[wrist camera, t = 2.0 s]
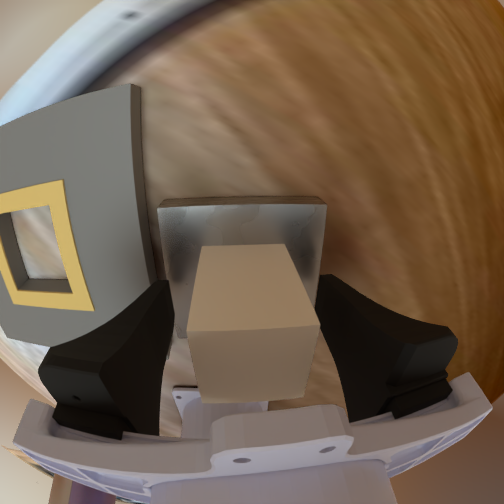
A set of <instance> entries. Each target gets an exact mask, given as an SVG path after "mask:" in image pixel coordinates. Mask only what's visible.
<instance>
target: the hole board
mask: <svg viewBox="0 0 504 504" xmlns="http://www.w3.org/2000/svg"><path fill="white" fill-rule="evenodd" d="M140 100H141V88H140V87H138V86H135V85H133V84H125V85H121V86H116V87H111V88H107V89H103V90H99V91H95V92H91V93H87V94H84V95H80V96H77V97H74V98H70V99H67V100H64V101H61V102H58V103H55V104H52V105H50V106H47V107H44V108H42V109H39V110H36V111H34V112H31V113H29V114H27V115H24V116H22V117H20V118H17V119H15V120H13V121H11V122H9V123H7V124H5V125H3V126H0V325H1V327H2V329H3V331H4V333H5V334H6V336H7V338H11V339H15V340H19V341H24V342H28V343H33V344H38V345H43V346H48V347H53V346H56V345H59V344H62V343H65V342H68V341H71V340H73V339H76V338H78V337H80V336H82V335H85V334H87V333H89V332H91V331H92V330H94V329H96V328H98V327H99V326H101V325H103V324H105V323H106V322H108V321H109V320H111V319H112V318H114V317H115V316H116V315H118V314H119V313H120V312H122V311H123V310H124V309H125V308H126V307H127V306H129V305H130V304H131V303H132V302H133V301H135V300H136V299H137V298H138V297H139V296H140V295H141V294H142V293H143V292H144V291H145V290H146V289H147V288H148V287H150V286H151V285H152V284H153V283H154V282H155V281H156V280H158V279H157V274H156V268H155V263H154V257H153V250H152V244H151V237H150V230H149V222H148V214H147V206H146V196H145V186H144V175H143V161H142V143H141V103H140ZM46 205H49V206H50V211H51V216H52V221H53V226H54V230H55V234H56V239H57V243H58V247H59V250H60V254H61V258H62V261H63V265H64V268H65V271H66V274H67V277H68V280H55V279H28V276H27V273H26V270H25V267H24V264H23V261H22V258H21V255H20V251H19V248H18V244H17V241H16V237H15V233H14V229H13V225H12V221H11V216H10V212H12V211H17V210H22V209H28V208H34V207H40V206H46ZM171 345H172V343H171V342H170V346H169V350H168V353H167V357H166V359H169V355H170V350H171Z"/></svg>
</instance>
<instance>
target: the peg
mask: <svg viewBox="0 0 504 504" xmlns="http://www.w3.org/2000/svg"><path fill="white" fill-rule="evenodd" d="M320 325H321V324H320V322H319V320H318V317H317V315H316V313H315V311H314V308H313V306H312V304H311V301H310V299H309V297H308V295H307V292H306V290H305V288H304V286H303V283H302V281H301V279H300V277H299V274H298V272H297V270H296V268H295V266H294V263H293V261H292V259H291V257H290V255H289V252H288V250H287V248H286V246H285V244H258V245H222V246H202V248H201V253H200V258H199V263H198V268H197V273H196V278H195V284H194V289H193V294H192V300H191V306H190V312H189V317H188V324H187V330H186V332H187V337H188V343H189V348H190V352H191V357H192V362H193V366H194V371H195V375H196V380H197V384H198V388H199V392H200V396H201V400H202V403H245V402H261V401H274V400H284V399H293V398H301V397H303V396H304V392H305V388H306V385H307V381H308V377H309V373H310V369H311V365H312V361H313V356H314V352H315V348H316V343H317V339H318V334H319V329H320Z"/></svg>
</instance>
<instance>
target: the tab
mask: <svg viewBox="0 0 504 504" xmlns="http://www.w3.org/2000/svg"><path fill="white" fill-rule="evenodd" d="M326 212H327V204H326V203H325V202H323V201H322V200H321V199H320V198H319V197H297V196H253V197H211V198H188V199H169V200H163V202H162V203H161V204H160V205H159V206H158V208H157V213H158V222H159V230H160V238H161V245H162V252H163V259H164V266H165V272H166V278H167V280H169V284H170V290H171V296H172V301H173V307H174V312H175V319H174V321H175V326H176V330H177V335H178V338H188V337H187V332H186V330H187V324H188V317H189V312H190V306H191V300H192V294H193V289H194V284H195V278H196V273H197V268H198V263H199V258H200V253H201V248H202V246H222V245H258V244H285V246H286V248H287V250H288V252H289V255H290V257H291V259H292V261H293V263H294V266H295V268H296V270H297V272H298V274H299V277H300V279H301V281H302V283H303V286H304V288H305V290H306V292H307V295H308V297H309V299H310V301H311V304H312V306H313V308H314V303H315V297H316V291H317V284H318V278H319V271H320V263H321V256H322V248H323V240H324V231H325V222H326Z"/></svg>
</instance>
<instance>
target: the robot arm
mask: <svg viewBox="0 0 504 504" xmlns="http://www.w3.org/2000/svg"><path fill="white" fill-rule="evenodd" d="M315 312H316V315H317V317H318V320H319V322H320V324H321V325H320V329H321V331H322V333H323V336H324V338H325V340H326V342H327V345H328V347H329V349H330V352H331V354H332V356H333V358H334V361H335V364H336V367H337V370H338V374H339V377H340V381H341V385H342V389H343V393H344V397H345V402H346V407H347V412H348V418H349V421H348V418H347V415H346V413H345V410H344V408H342V407H339V406H337V405H334V404H321V405H313V406H307V407H299V408H292V409H283V410H273V411H267V410H268V401H261V402H245V403H202V400H201V396H200V392H199V388H173V389H172V395H173V398H174V400H175V403H176V405H177V408H178V410H179V413H180V415H181V418H182V433H181V438H176V437H164V436H159V416H160V397H161V385H162V376H163V370H164V366H165V361H166V357H167V353H168V350H169V346H170V342H171V338H172V334H173V327H174V319H175V312H174V307H173V301H172V296H171V290H170V284H169V280H156V281H155V282H154V283H153V284H152V285H151V286H150V287H148V288H147V289H146V290H145V291H144V292H143V293H142V294H141V295H140V296H139V297H138V298H137V299H136V300H135V301H133V302H132V303H131V304H130V305H129V306H127V307H126V308H125V309H124V310H123V311H122V312H120V313H119V314H118V315H116V316H115V317H114V318H112V319H111V320H109V321H108V322H106V323H105V324H103V325H101V326H99V327H98V328H96V329H94V330H92V331H91V332H89V333H87V334H85V335H82V336H80V337H78V338H76V339H73V340H71V341H68V342H65V343H62V344H59V345H56V346H53V347H50V349H49V350H48V352H47V354H46V356H45V357H44V359H43V361H42V363H41V365H40V367H39V369H38V374H39V377H40V380H41V381H42V383H43V385H44V386H45V387H46V389H47V390H48V391H49V393H50V394H51V395H52V397H53V398H54V399H55V400H56V402H57V405H56V408H53V407H52V406H50V405H48V404H45V403H43V402H40V401H37V400H34V399H30V401H29V403H28V405H27V407H26V409H25V412H24V414H23V416H22V419H21V421H20V424H19V426H18V429H17V431H16V434H15V437H14V439H13V444H14V445H15V446H17V447H18V448H19V449H20V450H21V451H23V452H24V453H25V454H26V455H28V456H29V457H30V458H31V459H33V460H34V461H35V462H37V463H38V464H39V465H41V466H42V467H44V468H45V469H47V470H49V471H51V472H54V473H56V474H58V475H61V476H63V477H66V478H68V479H71V480H73V481H76V482H78V483H81V484H83V485H86V486H89V487H92V488H95V489H97V490H100V491H103V492H107V493H110V494H113V495H116V496H120V497H123V498H127V499H131V500H135V501H139V502H143V503H148V504H397V501H396V498H395V495H394V492H393V489H392V486H391V483H390V480H389V478H391V477H393V476H395V475H397V474H400V473H402V472H404V471H406V470H408V469H410V468H412V467H413V466H416V465H418V464H420V463H421V462H423V461H425V460H427V459H429V458H431V457H432V456H434V455H436V454H438V453H439V452H441V451H443V450H445V449H446V448H448V447H449V446H451V445H453V444H455V443H456V442H458V441H459V440H461V439H463V438H464V437H465V436H466V435H467V434H468V433H469V432H470V431H472V430H473V429H474V428H475V427H476V426H477V425H478V424H479V423H480V422H481V421H482V419H484V417H486V415H487V414H488V413H489V412H490V411H491V410H492V406H491V404H490V402H489V401H488V399H487V398H486V396H485V395H484V393H483V392H482V390H481V389H480V387H479V386H478V384H477V383H476V381H475V380H474V379H473V377H472V376H471V374H470V373H469V372H467V373H465V374H463V375H461V376H459V377H457V378H455V379H453V380H452V381H450V382H449V383H448V382H447V380H446V378H447V376H448V373H447V372H446V370H445V368H446V367H447V365H448V363H449V362H450V360H451V359H452V357H453V355H454V353H455V351H456V349H457V345H458V339H457V338H456V336H455V335H454V334H453V332H452V331H451V330H450V329H449V328H448V327H446V326H441V325H435V324H430V323H426V322H422V321H419V320H415V319H412V318H409V317H406V316H404V315H401V314H398V313H396V312H394V311H392V310H389V309H387V308H385V307H383V306H381V305H379V304H378V303H376V302H374V301H372V300H371V299H369V298H367V297H366V296H364V295H363V294H361V293H359V292H358V291H356V290H355V289H353V288H352V287H350V286H349V285H348V284H346V283H345V282H343V281H342V280H340V279H339V278H337V277H336V276H334V275H332V274H327V275H320V277H319V284H318V290H317V297H316V303H315Z"/></svg>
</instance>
